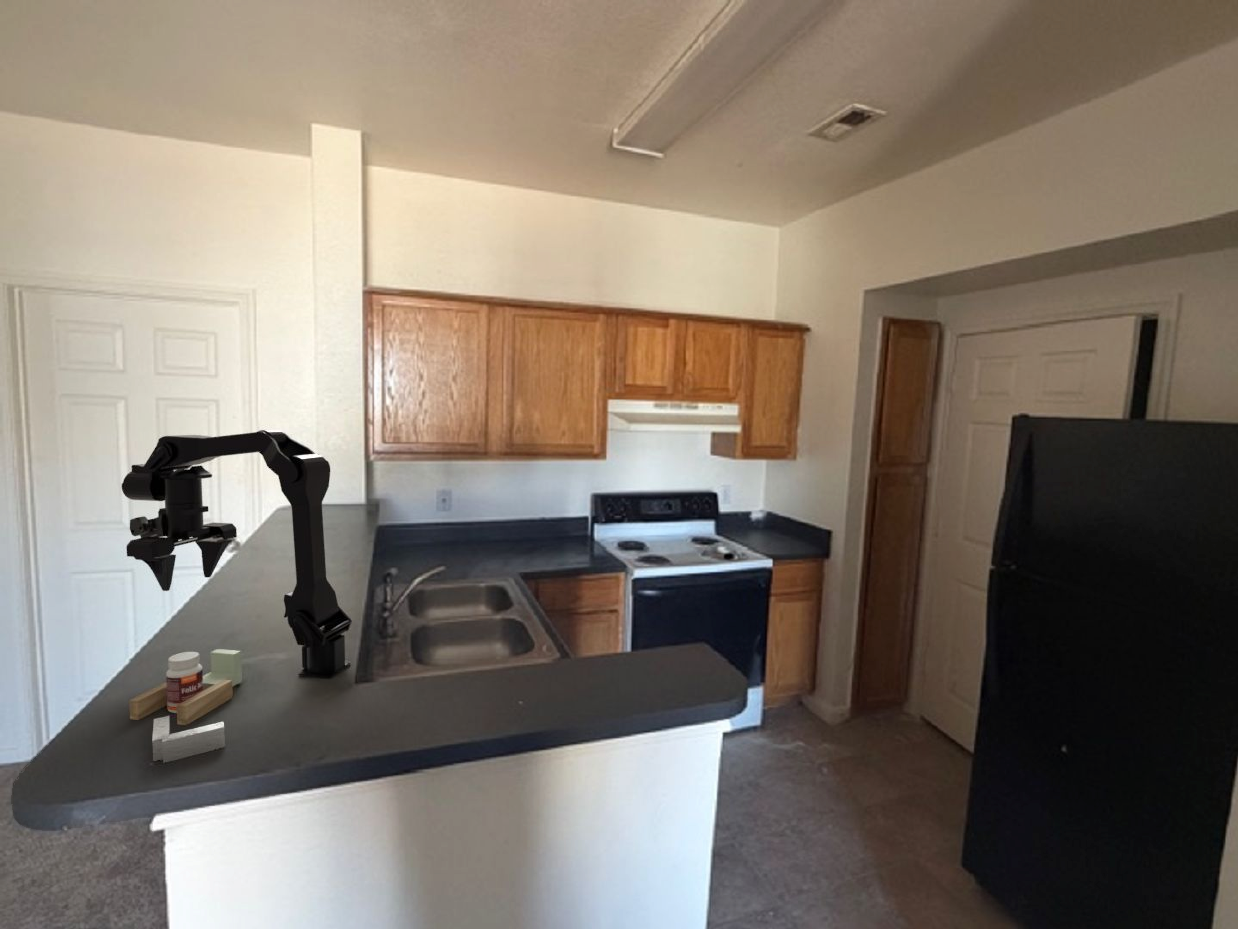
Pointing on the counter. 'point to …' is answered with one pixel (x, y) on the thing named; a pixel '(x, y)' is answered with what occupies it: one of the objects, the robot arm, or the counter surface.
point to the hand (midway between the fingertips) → (187, 583)
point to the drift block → (223, 668)
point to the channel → (186, 709)
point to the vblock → (185, 740)
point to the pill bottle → (183, 678)
